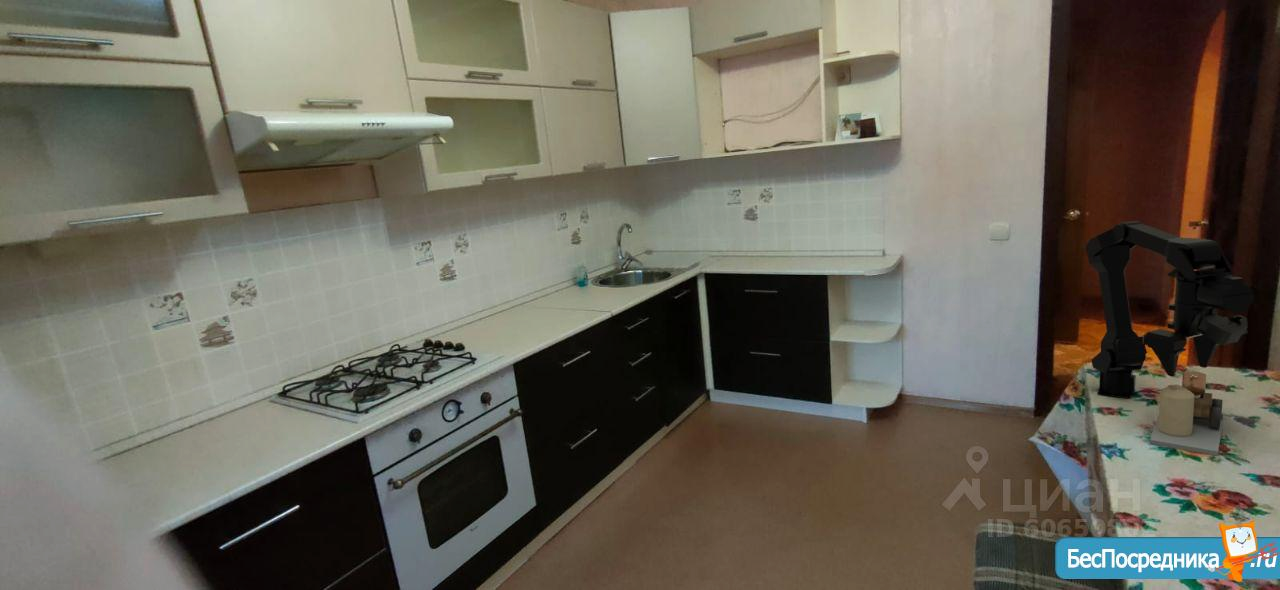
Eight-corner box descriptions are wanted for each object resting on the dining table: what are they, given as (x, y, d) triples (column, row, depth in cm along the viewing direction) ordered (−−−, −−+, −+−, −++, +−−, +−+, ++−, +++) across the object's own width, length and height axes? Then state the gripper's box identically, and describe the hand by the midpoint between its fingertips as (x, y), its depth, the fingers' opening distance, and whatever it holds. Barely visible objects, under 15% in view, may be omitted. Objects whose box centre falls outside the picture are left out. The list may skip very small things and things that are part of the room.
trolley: (1160, 422, 137) (1161, 400, 136) (1165, 407, 143) (1166, 385, 142) (1219, 432, 130) (1220, 408, 129) (1221, 415, 137) (1223, 392, 135)
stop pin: (1179, 414, 137) (1181, 375, 136) (1181, 408, 140) (1183, 370, 138) (1202, 417, 135) (1205, 378, 133) (1204, 411, 137) (1206, 372, 135)
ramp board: (1149, 444, 131) (1150, 435, 130) (1160, 412, 143) (1160, 404, 143) (1217, 456, 123) (1218, 446, 123) (1222, 422, 136) (1223, 413, 135)
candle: (1197, 437, 129) (1200, 392, 127) (1164, 436, 131) (1167, 391, 129) (1184, 425, 134) (1187, 382, 132) (1153, 425, 136) (1155, 382, 134)
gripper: (1202, 317, 120) (1196, 393, 123) (1272, 300, 124) (1264, 374, 128) (1142, 306, 131) (1138, 376, 134) (1209, 290, 135) (1203, 358, 138)
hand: (1187, 371), depth 133 cm, fingers open, 9 cm apart
